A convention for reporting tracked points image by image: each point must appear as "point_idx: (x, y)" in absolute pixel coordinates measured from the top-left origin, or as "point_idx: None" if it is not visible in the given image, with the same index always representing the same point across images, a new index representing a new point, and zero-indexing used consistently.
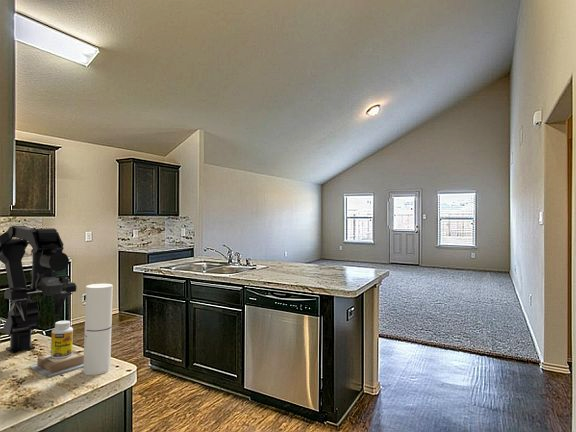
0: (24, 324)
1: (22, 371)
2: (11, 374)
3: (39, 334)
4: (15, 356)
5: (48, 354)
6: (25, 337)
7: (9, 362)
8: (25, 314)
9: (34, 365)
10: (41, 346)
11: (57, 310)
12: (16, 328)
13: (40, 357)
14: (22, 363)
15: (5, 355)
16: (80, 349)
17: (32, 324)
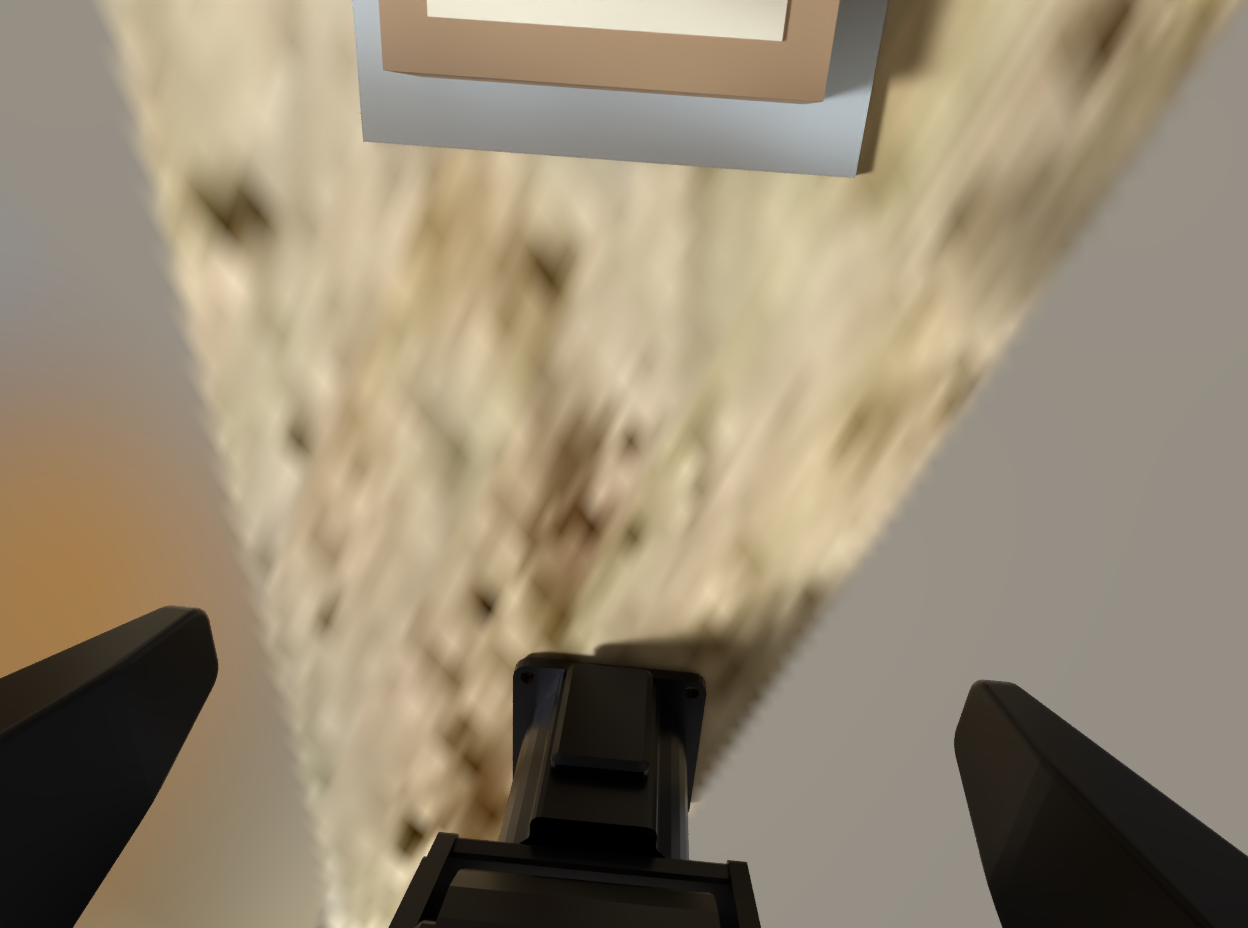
0: (623, 902)
1: (961, 119)
2: (1076, 130)
3: (337, 919)
4: (730, 605)
5: (677, 85)
6: (603, 761)
7: (852, 501)
8: (1132, 802)
9: (817, 139)
10: (453, 668)
11: (113, 676)
12: (704, 892)
13: (812, 48)
14: (807, 372)
15: (762, 689)
16: (201, 277)
17: (513, 875)
